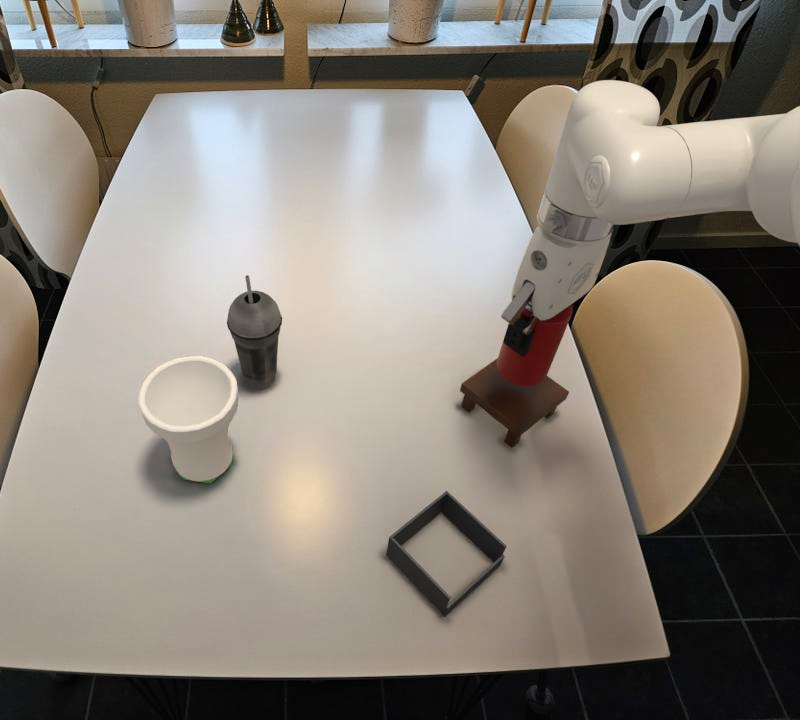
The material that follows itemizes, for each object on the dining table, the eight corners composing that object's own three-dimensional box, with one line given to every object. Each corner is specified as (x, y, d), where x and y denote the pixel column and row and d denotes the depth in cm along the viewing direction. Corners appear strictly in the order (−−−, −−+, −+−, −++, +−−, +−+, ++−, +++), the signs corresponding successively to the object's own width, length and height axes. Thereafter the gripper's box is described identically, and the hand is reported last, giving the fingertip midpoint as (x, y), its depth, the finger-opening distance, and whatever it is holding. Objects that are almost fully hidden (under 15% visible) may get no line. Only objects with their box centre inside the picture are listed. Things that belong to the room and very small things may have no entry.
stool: (558, 414, 89) (569, 391, 85) (512, 453, 85) (521, 430, 81) (502, 372, 94) (510, 349, 91) (455, 406, 90) (461, 383, 86)
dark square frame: (500, 565, 74) (509, 547, 71) (444, 617, 70) (451, 600, 67) (441, 509, 79) (446, 490, 76) (385, 555, 75) (389, 536, 72)
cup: (142, 464, 83) (117, 395, 73) (205, 412, 89) (191, 340, 78) (202, 515, 78) (184, 448, 68) (265, 457, 84) (258, 387, 74)
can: (557, 370, 83) (584, 307, 75) (525, 394, 80) (549, 332, 72) (518, 342, 86) (539, 278, 78) (486, 364, 83) (504, 301, 75)
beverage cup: (290, 362, 95) (285, 255, 80) (279, 400, 90) (272, 293, 76) (242, 356, 96) (228, 248, 81) (229, 393, 91) (212, 286, 76)
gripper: (556, 264, 60) (512, 388, 73) (658, 197, 67) (601, 320, 80) (493, 226, 64) (462, 350, 77) (596, 166, 71) (552, 289, 84)
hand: (534, 334), depth 78 cm, fingers closed on can, 6 cm apart
